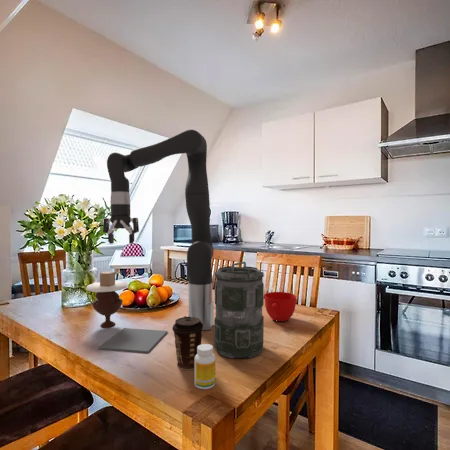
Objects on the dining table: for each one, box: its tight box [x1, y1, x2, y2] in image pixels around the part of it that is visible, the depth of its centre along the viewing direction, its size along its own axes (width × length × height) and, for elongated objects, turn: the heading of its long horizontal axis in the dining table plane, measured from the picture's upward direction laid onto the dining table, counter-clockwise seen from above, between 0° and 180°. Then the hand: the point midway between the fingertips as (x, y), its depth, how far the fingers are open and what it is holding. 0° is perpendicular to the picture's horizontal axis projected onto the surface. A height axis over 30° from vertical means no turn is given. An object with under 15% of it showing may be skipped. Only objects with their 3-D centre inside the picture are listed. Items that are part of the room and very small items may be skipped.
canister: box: [213, 261, 265, 359], centre depth 97 cm, size 16×16×28 cm
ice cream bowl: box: [91, 291, 124, 329], centre depth 118 cm, size 11×11×15 cm
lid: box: [86, 270, 129, 293], centre depth 118 cm, size 15×15×6 cm
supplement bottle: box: [193, 343, 216, 390], centre depth 77 cm, size 5×5×10 cm
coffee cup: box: [171, 315, 203, 371], centre depth 87 cm, size 9×8×13 cm
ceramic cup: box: [264, 291, 297, 322], centre depth 124 cm, size 13×17×10 cm
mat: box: [97, 327, 168, 354], centre depth 104 cm, size 17×17×1 cm
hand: (121, 243), depth 123 cm, fingers open, 8 cm apart
